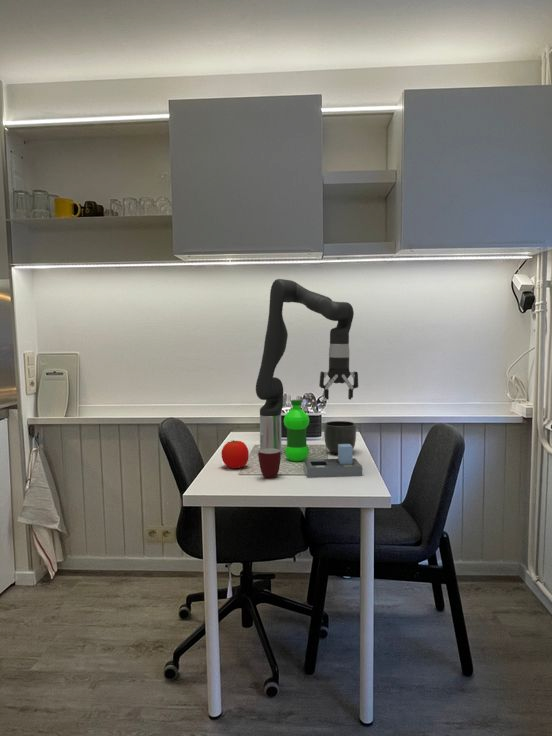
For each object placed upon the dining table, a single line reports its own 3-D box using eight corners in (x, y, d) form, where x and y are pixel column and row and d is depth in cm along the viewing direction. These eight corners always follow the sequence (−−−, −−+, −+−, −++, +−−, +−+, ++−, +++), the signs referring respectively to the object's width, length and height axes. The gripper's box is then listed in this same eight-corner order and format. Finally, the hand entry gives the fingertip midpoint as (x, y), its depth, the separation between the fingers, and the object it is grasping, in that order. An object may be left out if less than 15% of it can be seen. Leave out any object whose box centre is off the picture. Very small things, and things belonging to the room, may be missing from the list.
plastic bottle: (302, 465, 197) (301, 402, 195) (279, 462, 203) (278, 401, 201) (314, 459, 205) (313, 399, 204) (292, 456, 211) (291, 398, 209)
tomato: (250, 463, 200) (249, 437, 200) (247, 471, 190) (246, 443, 189) (224, 463, 201) (223, 437, 200) (219, 471, 191) (219, 443, 190)
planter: (328, 448, 225) (328, 420, 224) (359, 450, 220) (359, 421, 219) (320, 455, 212) (320, 425, 211) (352, 458, 207) (352, 427, 206)
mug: (261, 472, 187) (261, 446, 186) (283, 473, 186) (282, 447, 185) (257, 481, 177) (256, 453, 176) (279, 481, 176) (279, 453, 175)
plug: (340, 473, 183) (340, 446, 182) (338, 470, 187) (337, 444, 186) (352, 473, 183) (352, 446, 182) (349, 470, 187) (349, 443, 187)
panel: (307, 479, 178) (307, 467, 178) (303, 470, 190) (303, 459, 190) (362, 477, 179) (362, 466, 179) (355, 468, 191) (355, 457, 191)
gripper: (321, 356, 181) (321, 400, 182) (360, 356, 181) (359, 400, 183) (318, 355, 188) (318, 398, 189) (355, 355, 189) (355, 397, 190)
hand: (338, 399), depth 186 cm, fingers open, 8 cm apart
